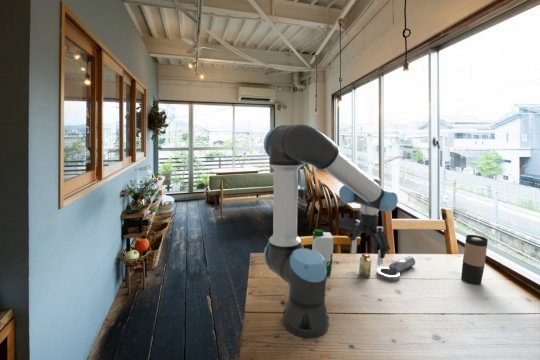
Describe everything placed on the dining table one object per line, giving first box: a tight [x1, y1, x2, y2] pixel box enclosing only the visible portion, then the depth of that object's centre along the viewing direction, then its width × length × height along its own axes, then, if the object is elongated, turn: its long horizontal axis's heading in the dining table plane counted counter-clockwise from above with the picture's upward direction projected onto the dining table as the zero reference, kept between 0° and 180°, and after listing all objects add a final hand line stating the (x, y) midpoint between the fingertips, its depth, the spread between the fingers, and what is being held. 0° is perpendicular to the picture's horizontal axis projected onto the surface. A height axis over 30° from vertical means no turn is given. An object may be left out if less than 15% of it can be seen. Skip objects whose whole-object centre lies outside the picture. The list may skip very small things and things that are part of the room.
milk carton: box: [311, 228, 334, 277], centre depth 125 cm, size 9×9×20 cm
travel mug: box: [460, 234, 489, 286], centre depth 120 cm, size 8×8×20 cm
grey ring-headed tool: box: [376, 255, 416, 282], centre depth 128 cm, size 24×9×5 cm, turn 125°
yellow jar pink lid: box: [358, 253, 372, 279], centre depth 123 cm, size 5×5×10 cm
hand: (366, 258), depth 123 cm, fingers open, 13 cm apart
